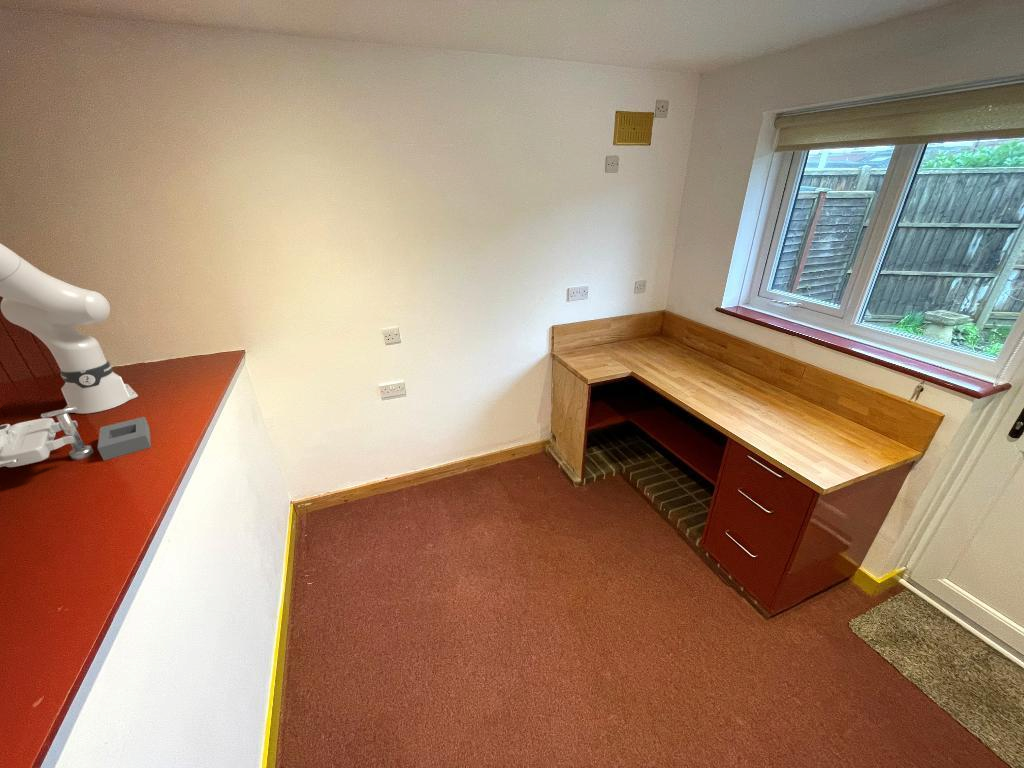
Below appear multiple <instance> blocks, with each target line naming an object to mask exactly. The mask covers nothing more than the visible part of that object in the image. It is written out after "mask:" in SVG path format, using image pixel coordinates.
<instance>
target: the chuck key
mask: <svg viewBox="0 0 1024 768" xmlns="http://www.w3.org/2000/svg"><path fill="white" fill-rule="evenodd" d="M74 411H77V407H76V406H75V407H70V408H66V409H64V408H62V409H57V410H52V411H48V412H44V413H41V414H40V417H41V419H42V418H52V417H56V418H57V421H58V422H59V423H60V424H61V426H62V428H63V430H62V431H63V432H64V434H65V436H67V435H73V437H74V442H73V443H69V444H70V445H71V447H72V449H71V450H70V451H69V452H68V454H69V456H70V457H71V459H72V460H73V461H79V460H83V459H86V458H89V457H90V456H93V454H94V453H95V452H94V449H93V448H92V445H87V444H86V445H85V444H84V442H83V440H82V438H81V436H80V434H79V431H78V430H77V428H75V426H74V424H73V422H72V421H73V420H72V418H71V416H70V413H69V412H74Z"/></svg>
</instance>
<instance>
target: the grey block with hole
mask: <svg viewBox="0 0 1024 768" xmlns="http://www.w3.org/2000/svg"><path fill="white" fill-rule="evenodd" d="M151 447H152V443H151V431H150V426H149V424H148V421H147V418H146V417H145V416H141V417H137V418H132V419H129V420H125V421H121V422H117V423H112V424H108V425H105V426H101V427H100V428H99V435H98V442H97V450H98V452H99V455H100V456H101V458H102V460H103V461H107V460H110V459H114V458H118V457H121V456H125V455H129V454H132V453H133V454H134V453H136V452H139V451H143V450H146V449H151Z"/></svg>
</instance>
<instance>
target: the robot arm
mask: <svg viewBox="0 0 1024 768" xmlns="http://www.w3.org/2000/svg"><path fill="white" fill-rule="evenodd" d="M0 297H2V300H1V302H0V312H1V313H2V315H3V317H4V318H5V319H6V320H7V321H8V322H10V323H12V324H14V325H16V326H19V327H20V328H23V329H24V330H27V331H29V332H30V333H31V334H33V335H34V336H35V337H37V338H38V339H39V341H40V340H41V342H42V343H43V344H44V345H45V346H46V347H47V349H49V351H50V352H51V354H52V356H53V358H54V359H55V361H56V363H57V365H58V368H59V369H60V370H59V373H60V377H61V378H62V380H63V381H64V382H65V383H64V385H62V387H61V388H60V389H61V392H62V394H63V397H64V399H65V401H66V404H67V405H66V406H65V407H64V408H63V409H66V408H70V407H75V406H76V407H77V411H74V412H69V413H68V414H70V413H75V414H82V415H83V414H92V413H93V414H94V413H98V412H104V411H107V410H110V409H113V408H117V407H119V406H121V405H123V404H125V403H127V402H128V401H130V400H133V399H135V398H137V397H139V395H138V393H137V392H136V391H135V390H134V389H133V388H132V387H131V386H130V385H129V383H124V381H123V379H122V376H120V375H119V374H117V373H116V372H114V369H113V368H112V365H111V363H110V361H109V360H107V359H106V356H105V354H104V352H103V351H104V350H103V349H102V347H101V345H100V343H99V341H98V340H97V338H95V337H94V336H91V335H88V334H86V333H84V332H81V331H80V330H78V329H77V328H76V327H75V326H88V325H92V324H96V323H100V322H104V321H106V320H107V319H108V318H109V316H110V315H111V304H110V303H109V301H108V300H107V298H106V297H105V296H104V295H103V294H101V293H100V292H97V291H95V290H90V289H86V288H82V287H79V286H76V285H73V284H70V283H68V282H65V281H64V280H61V279H59V278H56V277H54V276H52V275H49V274H48V273H45V272H44V271H42V270H40V269H38V268H37V267H35V266H34V265H33V264H32V263H30V262H28V261H27V260H26V259H24V258H23V257H22V256H20V255H19V254H17V253H16V252H14V251H13V250H11V249H10V248H9V247H7V246H5V245H4V244H2V243H0ZM72 422H73V424H74V426H75V428H76V429H77V428H78V427H79V425H78V422H77V420H72ZM61 431H64V430H63V428H62V426H61V424H60V423H59V421H58V422H55V420H54V418H52V417H46V418H42V417H41V418H38V419H37V418H36V419H32V420H31V419H30V420H27V421H22V422H17V423H15V424H13V425H11V424H10V423H5V424H1V425H0V468H2V467H7V468H15V467H20V466H25V465H29V464H30V465H31V464H34V463H38V462H42V461H44V460H46V459H48V458H49V457H50V453H51V451H53V450H56V449H59V448H62V447H63V446H66V445H69V444H70V443H73V442H74V437H73V435H67V436H66V435H63V436H62V437H60V438H56V439H55V437H56V433H59V432H61Z"/></svg>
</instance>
